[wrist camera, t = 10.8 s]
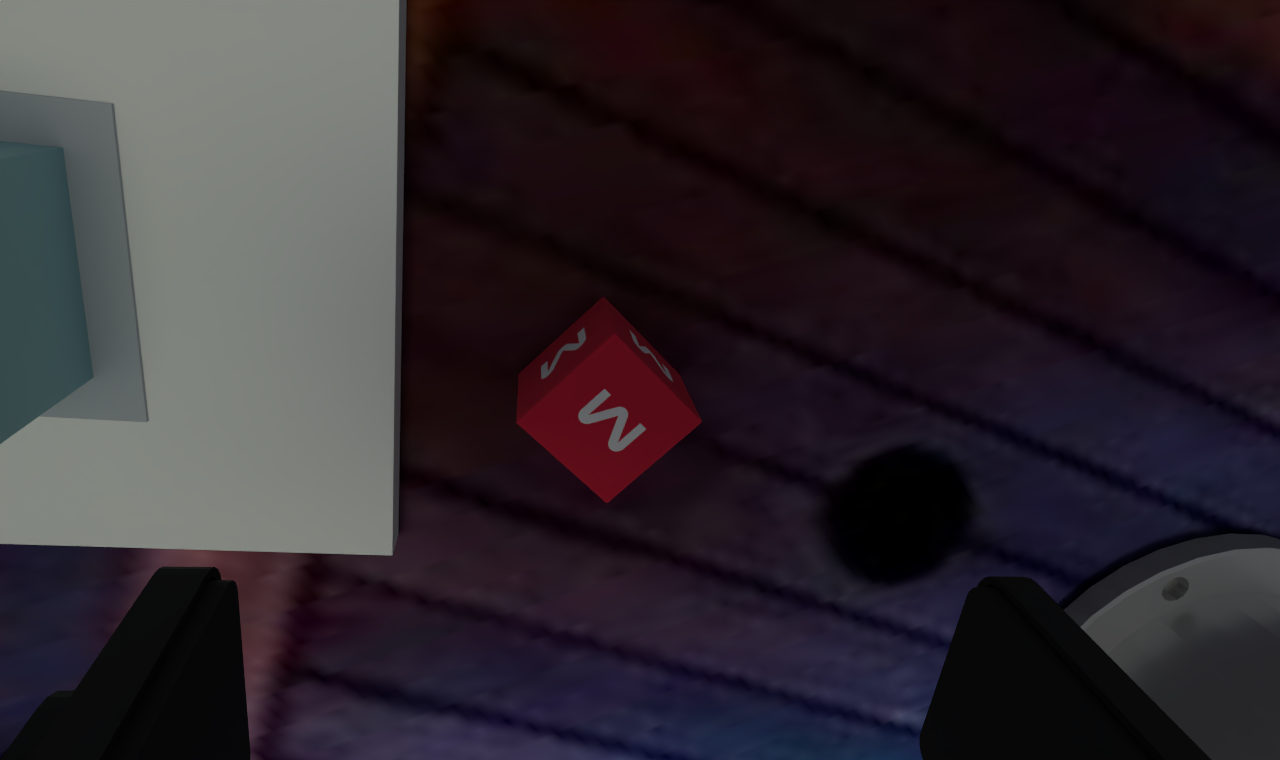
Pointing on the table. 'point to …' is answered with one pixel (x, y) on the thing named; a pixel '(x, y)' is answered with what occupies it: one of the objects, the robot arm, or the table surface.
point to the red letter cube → (604, 401)
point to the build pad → (219, 272)
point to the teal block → (38, 287)
